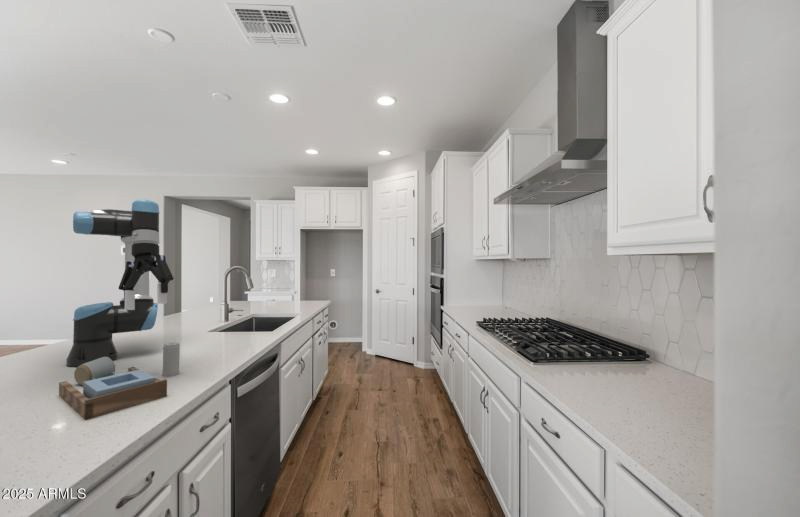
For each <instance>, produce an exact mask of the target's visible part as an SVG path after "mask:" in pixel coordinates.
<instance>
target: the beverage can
mask: <svg viewBox="0 0 800 517" xmlns="http://www.w3.org/2000/svg"><path fill="white" fill-rule="evenodd" d="M180 346H181V345H180V342H179V341H178V342H176V341H175V342H167V343H164V344H163V351H162V353H163V354H162V377H165V378H169V377H176V376H178V375H179V374H180V356H181V355H180V354H181V351H180Z"/></svg>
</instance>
